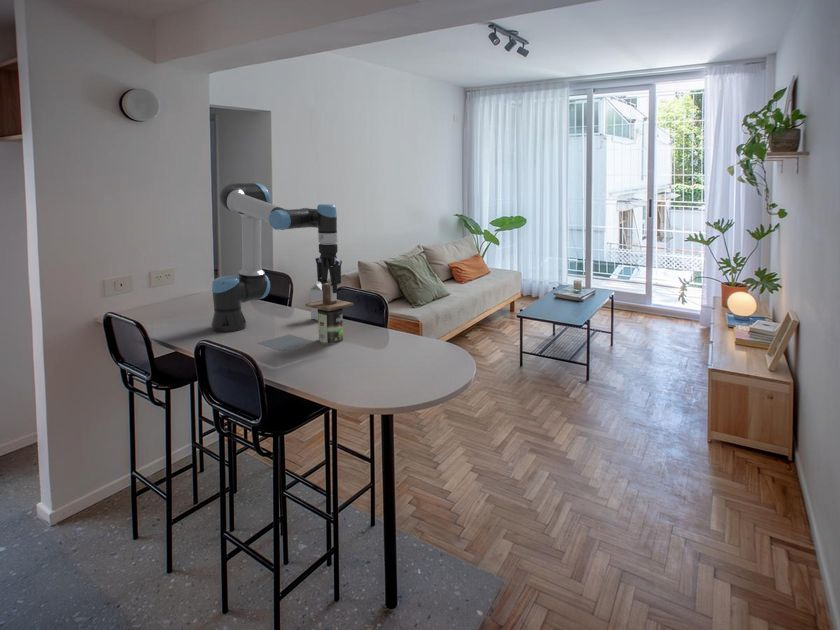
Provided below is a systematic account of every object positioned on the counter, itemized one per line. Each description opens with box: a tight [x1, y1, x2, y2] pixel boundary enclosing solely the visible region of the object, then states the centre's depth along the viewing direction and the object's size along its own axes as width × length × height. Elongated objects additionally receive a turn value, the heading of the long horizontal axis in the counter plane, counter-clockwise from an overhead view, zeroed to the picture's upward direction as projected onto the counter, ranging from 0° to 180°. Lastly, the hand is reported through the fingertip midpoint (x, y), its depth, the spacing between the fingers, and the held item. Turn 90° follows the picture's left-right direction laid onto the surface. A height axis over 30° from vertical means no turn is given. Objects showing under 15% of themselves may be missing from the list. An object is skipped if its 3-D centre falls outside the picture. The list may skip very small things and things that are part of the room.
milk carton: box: [309, 281, 323, 321], centre depth 265 cm, size 7×7×19 cm
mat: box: [257, 334, 316, 352], centre depth 227 cm, size 17×17×1 cm
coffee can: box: [317, 308, 344, 345], centre depth 229 cm, size 10×10×14 cm
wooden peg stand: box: [305, 282, 355, 311], centre depth 226 cm, size 14×14×9 cm
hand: (329, 299), depth 227 cm, fingers closed on wooden peg stand, 4 cm apart
